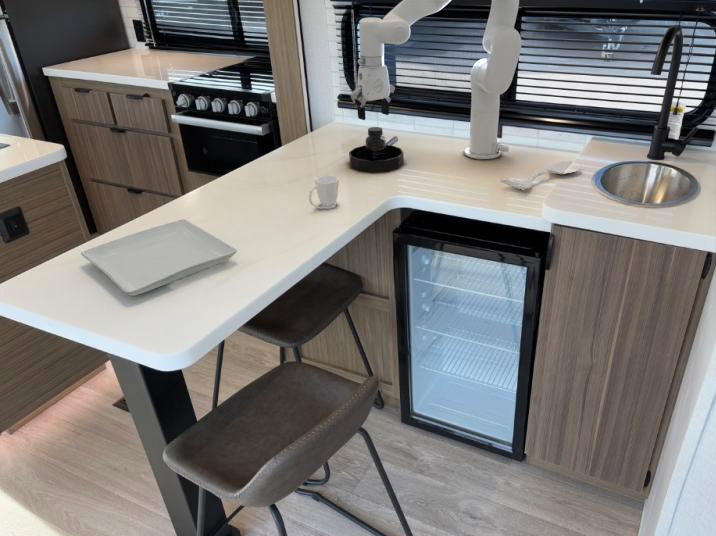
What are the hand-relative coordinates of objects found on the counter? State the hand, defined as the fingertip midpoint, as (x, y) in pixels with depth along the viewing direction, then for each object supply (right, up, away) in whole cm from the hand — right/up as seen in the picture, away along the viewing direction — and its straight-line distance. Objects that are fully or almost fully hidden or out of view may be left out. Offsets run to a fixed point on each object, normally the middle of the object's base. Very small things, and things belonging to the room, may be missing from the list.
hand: (373, 116), depth 197 cm
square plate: (-49, -52, -52) cm, 88 cm away
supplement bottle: (+1, -14, +9) cm, 16 cm away
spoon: (+54, -23, -8) cm, 59 cm away
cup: (-13, -34, -23) cm, 43 cm away
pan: (+2, -11, +12) cm, 17 cm away
